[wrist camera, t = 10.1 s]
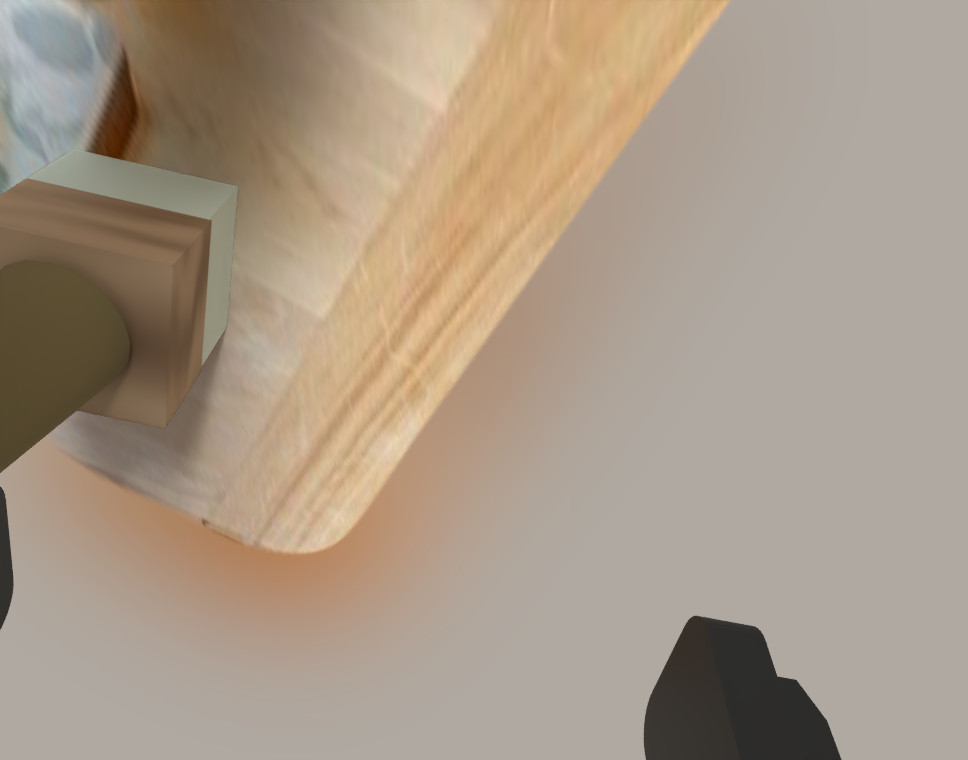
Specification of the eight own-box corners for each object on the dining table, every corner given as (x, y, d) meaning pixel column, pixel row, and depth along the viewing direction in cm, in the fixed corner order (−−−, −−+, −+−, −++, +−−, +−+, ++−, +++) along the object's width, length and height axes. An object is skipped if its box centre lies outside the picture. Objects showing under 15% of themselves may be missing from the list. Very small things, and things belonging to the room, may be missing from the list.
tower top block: (27, 177, 37) (-37, 218, 32) (211, 220, 37) (173, 265, 33) (34, 335, 41) (-22, 390, 36) (200, 371, 41) (165, 428, 37)
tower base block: (74, 148, 41) (23, 180, 37) (239, 185, 42) (207, 221, 37) (77, 293, 45) (31, 337, 41) (227, 325, 46) (198, 372, 42)
